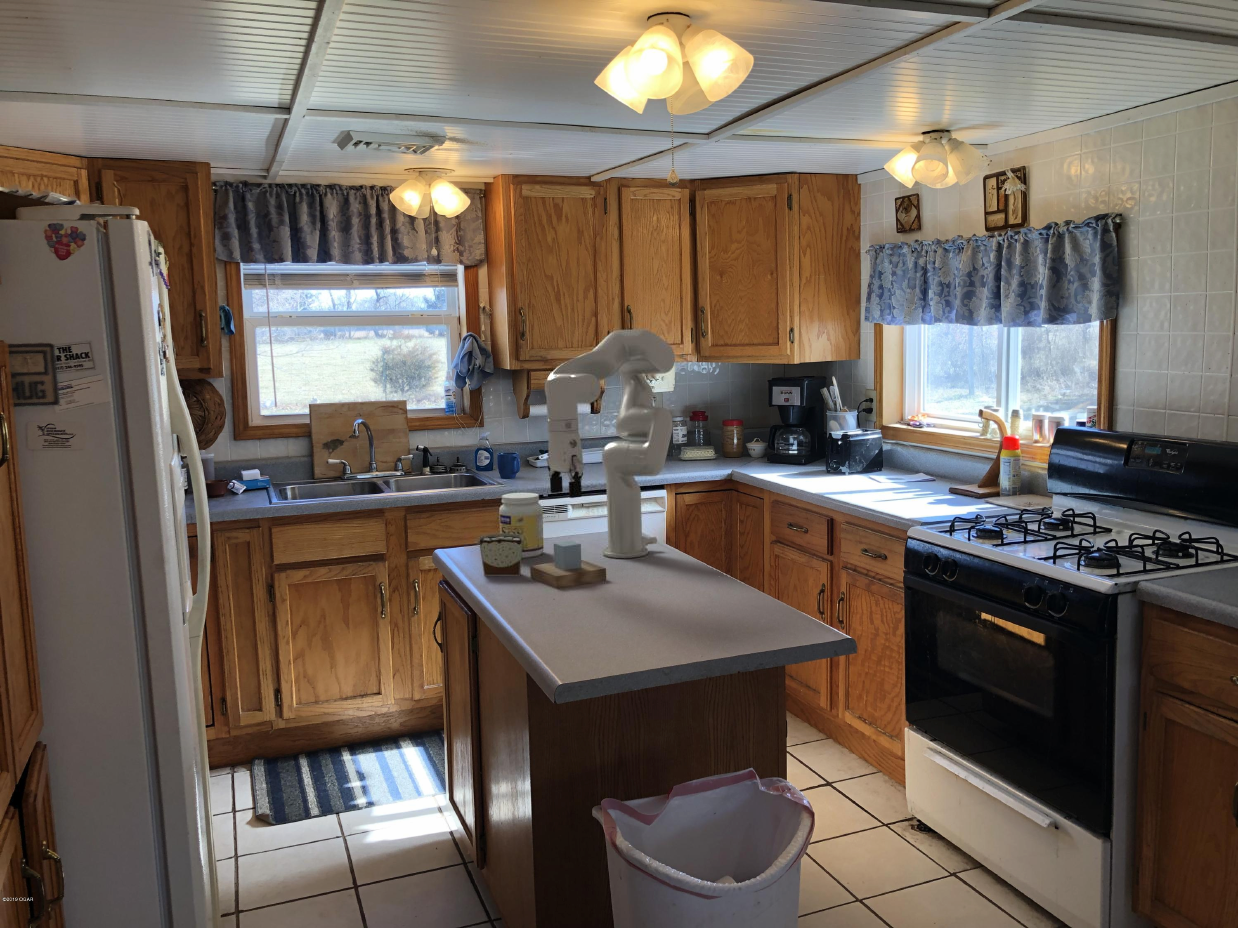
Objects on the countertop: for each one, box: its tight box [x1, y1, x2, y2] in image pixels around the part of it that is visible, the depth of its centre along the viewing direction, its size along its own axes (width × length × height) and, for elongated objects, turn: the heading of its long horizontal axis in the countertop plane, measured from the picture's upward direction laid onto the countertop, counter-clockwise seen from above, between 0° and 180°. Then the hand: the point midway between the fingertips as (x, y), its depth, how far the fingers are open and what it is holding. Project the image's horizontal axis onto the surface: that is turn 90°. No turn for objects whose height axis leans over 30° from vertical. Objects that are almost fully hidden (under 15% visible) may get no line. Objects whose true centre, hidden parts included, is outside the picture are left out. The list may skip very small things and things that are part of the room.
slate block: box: [553, 540, 582, 570], centre depth 248 cm, size 5×5×6 cm
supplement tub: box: [498, 492, 545, 559], centre depth 279 cm, size 12×12×17 cm
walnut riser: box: [529, 559, 607, 589], centre depth 249 cm, size 14×14×3 cm
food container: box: [476, 532, 525, 577], centre depth 257 cm, size 12×6×10 cm, turn 84°
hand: (565, 494), depth 247 cm, fingers open, 9 cm apart
